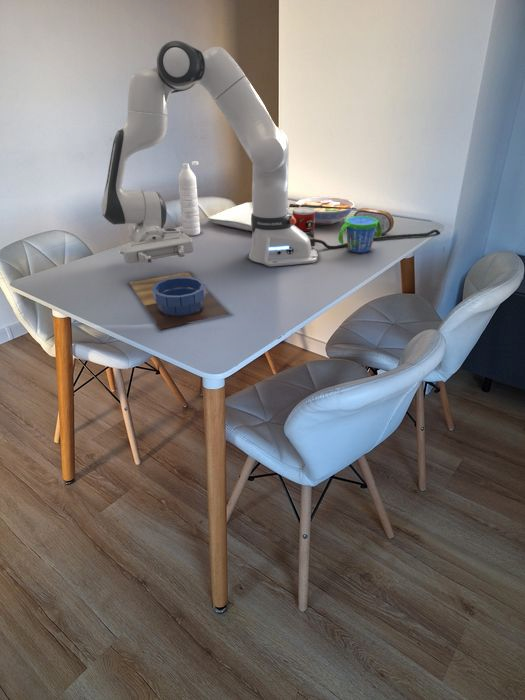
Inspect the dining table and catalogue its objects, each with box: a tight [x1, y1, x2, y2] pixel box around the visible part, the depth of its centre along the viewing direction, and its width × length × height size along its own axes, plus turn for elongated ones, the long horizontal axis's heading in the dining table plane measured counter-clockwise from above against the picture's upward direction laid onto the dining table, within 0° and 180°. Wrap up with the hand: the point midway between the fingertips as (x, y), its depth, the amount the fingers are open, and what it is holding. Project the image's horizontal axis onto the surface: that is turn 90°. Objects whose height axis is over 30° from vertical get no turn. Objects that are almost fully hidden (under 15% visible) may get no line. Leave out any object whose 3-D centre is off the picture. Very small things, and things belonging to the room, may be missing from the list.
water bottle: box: [177, 160, 201, 237], centre depth 186 cm, size 9×6×25 cm
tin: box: [353, 207, 395, 236], centre depth 187 cm, size 15×3×8 cm, turn 58°
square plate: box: [206, 201, 294, 232], centre depth 201 cm, size 27×27×4 cm
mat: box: [144, 292, 230, 331], centre depth 133 cm, size 15×18×1 cm
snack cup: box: [338, 215, 382, 254], centre depth 170 cm, size 16×10×10 cm
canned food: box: [292, 207, 316, 238], centre depth 179 cm, size 8×8×11 cm
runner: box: [128, 271, 209, 306], centre depth 146 cm, size 18×18×1 cm
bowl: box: [152, 276, 207, 316], centre depth 132 cm, size 13×13×6 cm
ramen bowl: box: [288, 196, 357, 226], centre depth 199 cm, size 25×23×8 cm
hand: (165, 257), depth 141 cm, fingers open, 8 cm apart
